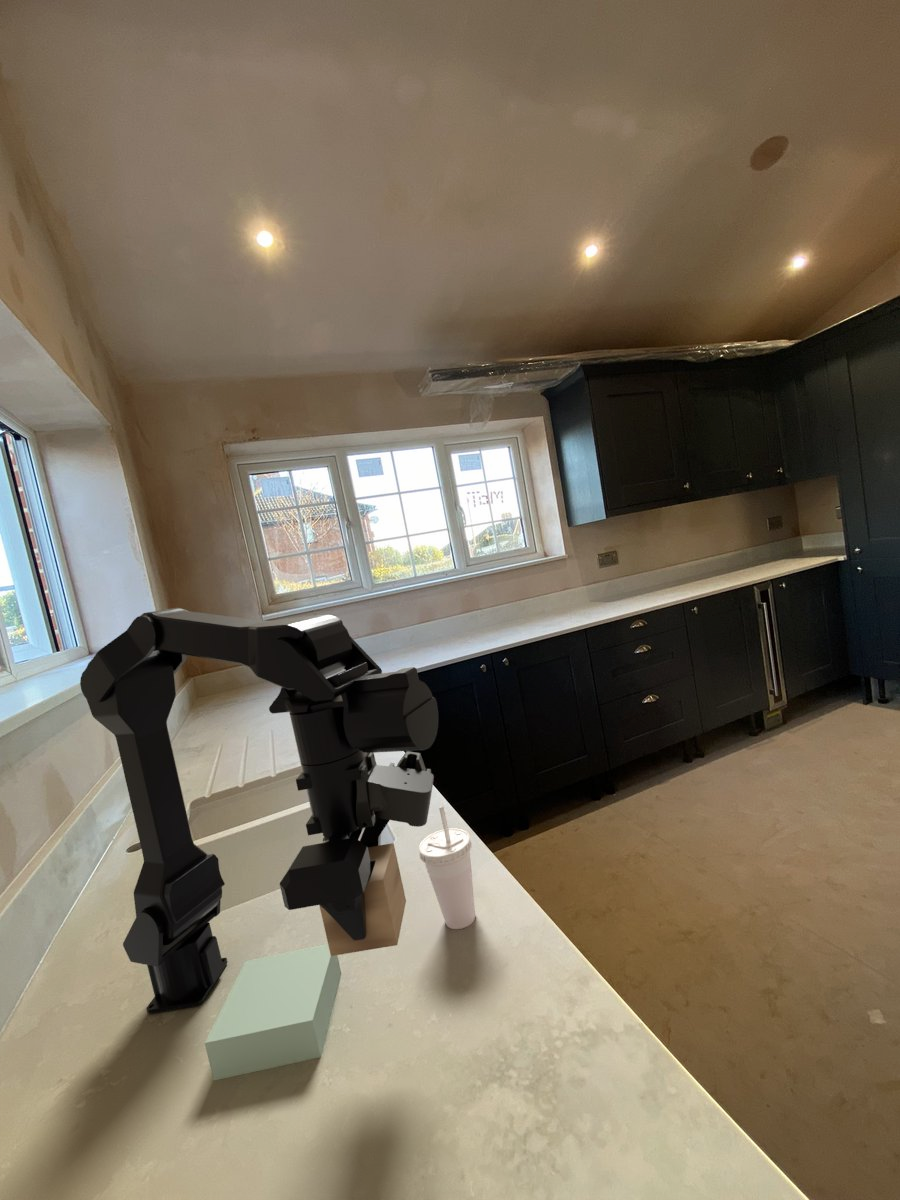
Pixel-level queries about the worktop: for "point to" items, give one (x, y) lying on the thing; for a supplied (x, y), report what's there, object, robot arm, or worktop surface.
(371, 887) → the walnut cube
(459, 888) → the smoothie
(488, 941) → the worktop surface
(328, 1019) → the sage box
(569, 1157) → the worktop surface
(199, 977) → the robot arm
